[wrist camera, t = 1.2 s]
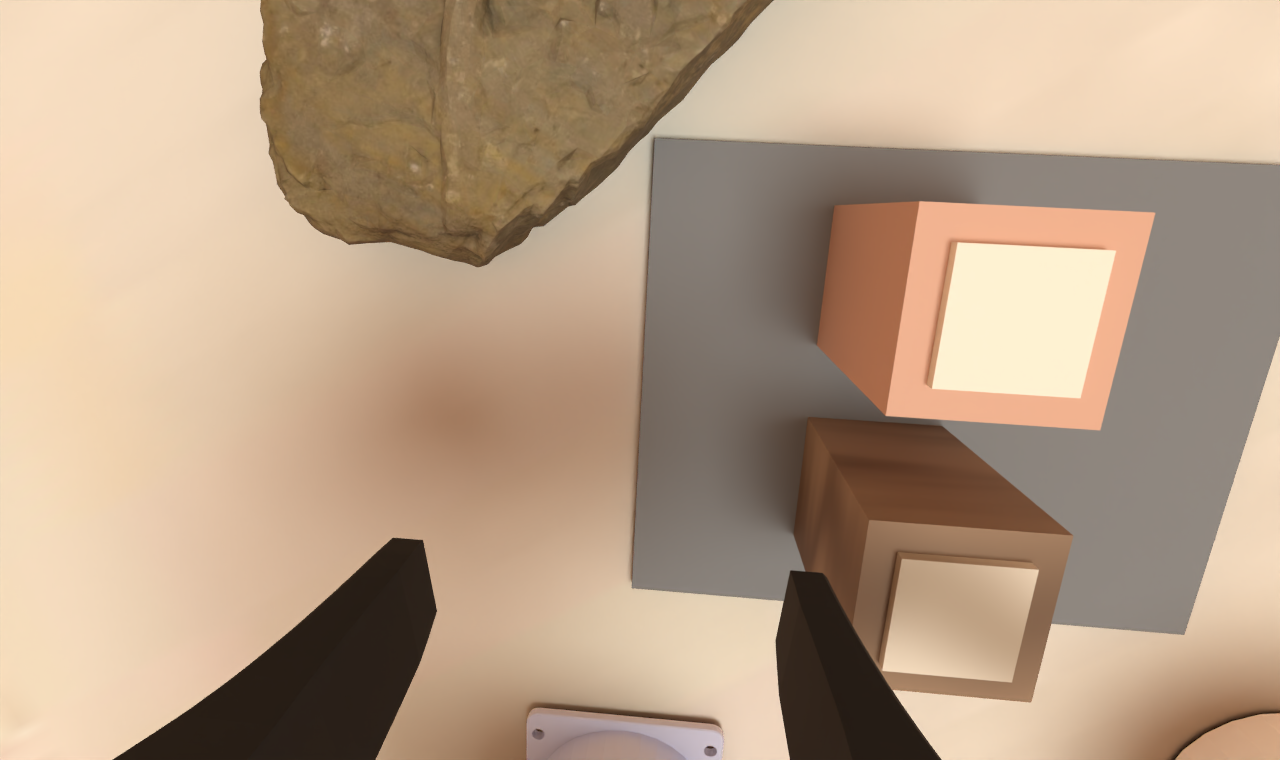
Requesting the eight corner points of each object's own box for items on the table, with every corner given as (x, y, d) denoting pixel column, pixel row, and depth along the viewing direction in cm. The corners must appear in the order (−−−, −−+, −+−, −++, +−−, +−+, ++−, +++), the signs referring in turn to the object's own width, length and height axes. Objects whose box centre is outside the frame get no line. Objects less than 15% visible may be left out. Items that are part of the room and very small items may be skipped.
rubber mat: (1175, 627, 23) (1184, 634, 23) (632, 582, 24) (631, 588, 24) (1320, 168, 19) (1333, 167, 18) (655, 139, 20) (654, 138, 20)
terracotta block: (955, 353, 21) (1109, 435, 13) (816, 345, 21) (889, 420, 13) (981, 212, 19) (1167, 212, 12) (834, 205, 20) (924, 200, 12)
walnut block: (920, 544, 22) (1037, 712, 15) (793, 534, 23) (846, 694, 15) (942, 425, 21) (1081, 542, 14) (808, 416, 22) (872, 526, 14)
